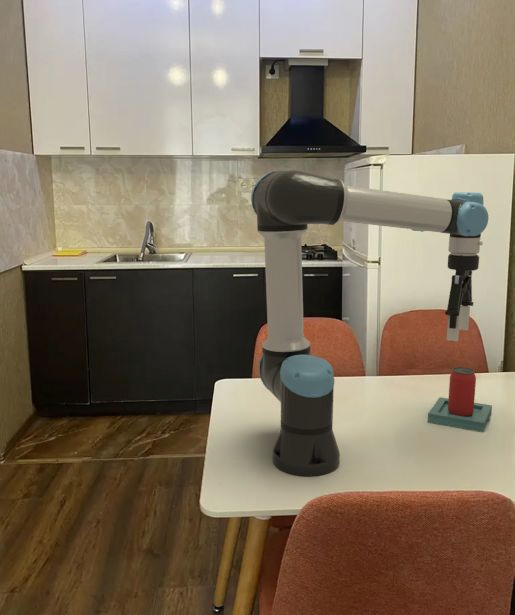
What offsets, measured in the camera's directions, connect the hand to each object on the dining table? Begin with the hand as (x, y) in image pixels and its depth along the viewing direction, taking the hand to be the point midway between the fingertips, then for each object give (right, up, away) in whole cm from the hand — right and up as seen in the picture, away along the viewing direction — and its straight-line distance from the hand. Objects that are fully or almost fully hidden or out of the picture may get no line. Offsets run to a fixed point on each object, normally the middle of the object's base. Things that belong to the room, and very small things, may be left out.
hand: (457, 335), depth 159 cm
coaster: (+2, -23, +4) cm, 23 cm away
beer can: (+2, -21, +4) cm, 22 cm away
